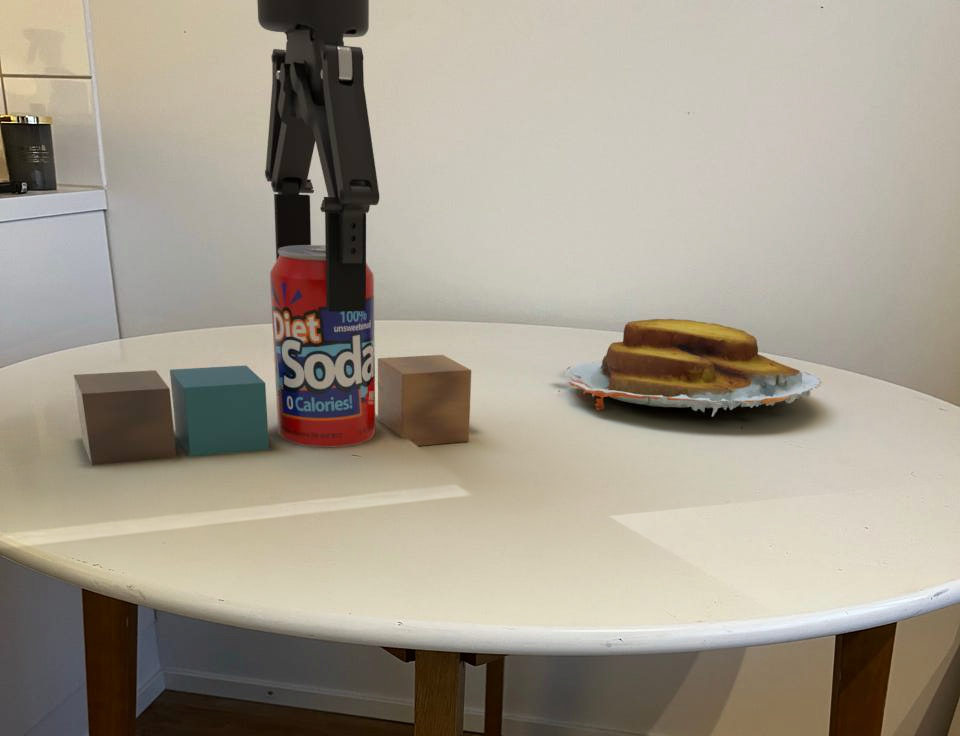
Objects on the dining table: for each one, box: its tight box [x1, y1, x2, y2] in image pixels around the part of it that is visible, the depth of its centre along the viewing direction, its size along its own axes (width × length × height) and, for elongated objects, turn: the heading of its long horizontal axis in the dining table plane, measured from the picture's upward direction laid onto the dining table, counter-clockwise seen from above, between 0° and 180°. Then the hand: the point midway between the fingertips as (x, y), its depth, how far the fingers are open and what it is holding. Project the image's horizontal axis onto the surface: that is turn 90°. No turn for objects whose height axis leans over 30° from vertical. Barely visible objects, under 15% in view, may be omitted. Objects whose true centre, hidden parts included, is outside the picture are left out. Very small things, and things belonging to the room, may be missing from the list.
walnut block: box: [73, 369, 177, 466], centre depth 76 cm, size 6×6×6 cm
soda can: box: [269, 244, 376, 448], centre depth 80 cm, size 8×8×15 cm
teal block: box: [169, 364, 270, 457], centre depth 79 cm, size 6×6×6 cm
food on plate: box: [557, 318, 822, 429], centre depth 100 cm, size 25×25×7 cm
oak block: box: [377, 354, 472, 447], centre depth 85 cm, size 6×6×6 cm
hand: (318, 295), depth 78 cm, fingers open, 13 cm apart
